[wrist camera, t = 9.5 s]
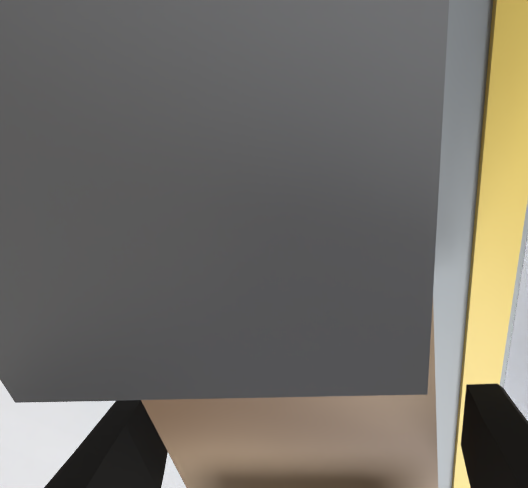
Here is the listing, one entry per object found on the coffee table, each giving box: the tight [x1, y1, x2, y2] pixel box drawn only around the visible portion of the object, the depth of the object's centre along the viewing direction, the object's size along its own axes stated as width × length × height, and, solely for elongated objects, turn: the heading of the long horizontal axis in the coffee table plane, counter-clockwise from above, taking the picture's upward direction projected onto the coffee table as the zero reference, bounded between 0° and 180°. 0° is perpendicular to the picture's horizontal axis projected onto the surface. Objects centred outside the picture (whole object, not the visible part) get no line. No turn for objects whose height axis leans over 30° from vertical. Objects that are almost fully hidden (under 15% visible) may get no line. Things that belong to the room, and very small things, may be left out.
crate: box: [0, 0, 449, 402], centre depth 5 cm, size 4×4×2 cm
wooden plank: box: [141, 304, 438, 488], centre depth 11 cm, size 26×6×4 cm, turn 12°
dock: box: [433, 0, 528, 488], centre depth 14 cm, size 30×11×3 cm, turn 10°
